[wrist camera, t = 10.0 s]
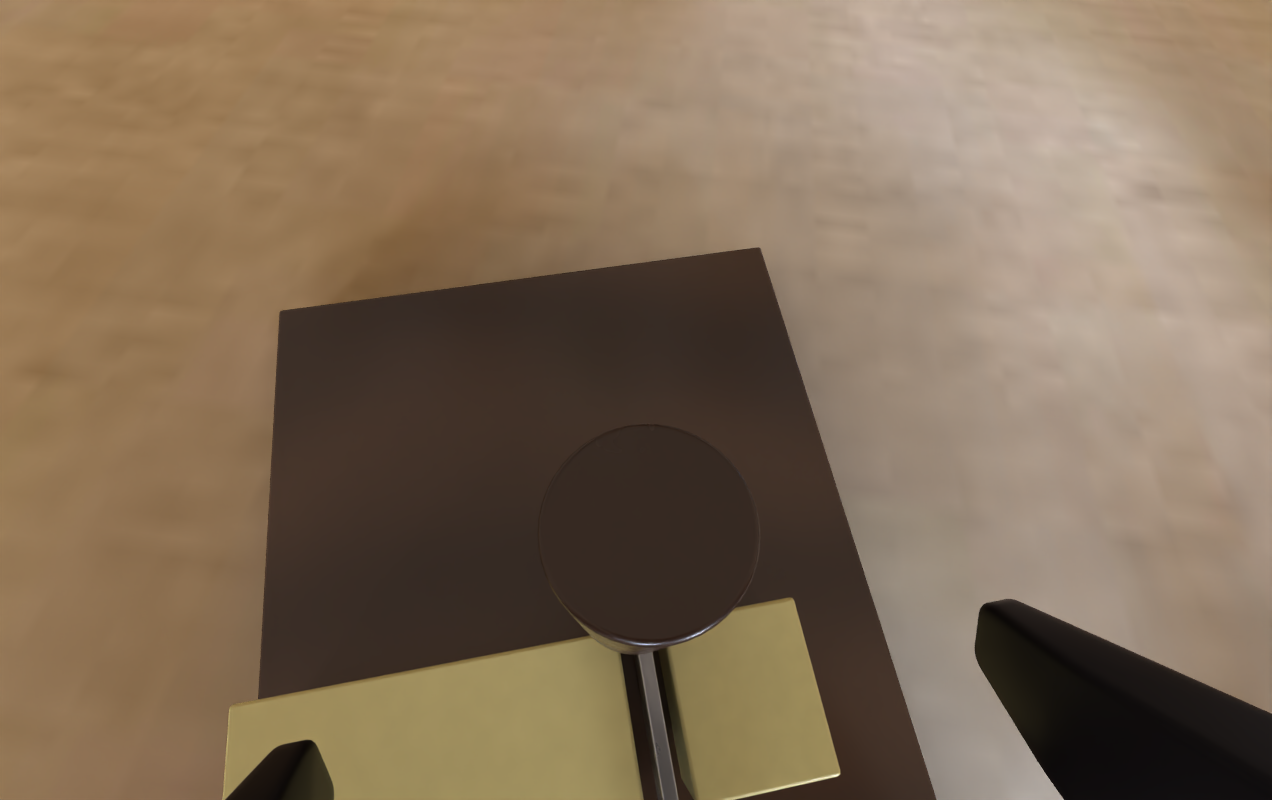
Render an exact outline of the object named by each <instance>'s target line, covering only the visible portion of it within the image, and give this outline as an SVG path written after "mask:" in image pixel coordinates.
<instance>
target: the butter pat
mask: <svg viewBox="0 0 1272 800" xmlns="http://www.w3.org/2000/svg"><path fill="white" fill-rule="evenodd" d="M658 652H659V657H660V663H661V668H662V674H663V679H664V685H665V690H666V696H667V701H668V707H669V712H670V718H671V723H672V729H673V734H674V740H675V745H676V751H677V756H678V762H679V767H680V773H681V778H682V780H683V782H684V783H685V785H686V787H687V789H688V790H689V792H690V794H691V796H692V797H693V799H694V800H736V799H740V798H745V797H749V796H754V795H758V794H762V793H767V792H771V791H776V790H780V789H785V788H789V787H793V786H798V785H802V784H807V783H811V782H816V781H820V780H824V779H829V778H833V777H838V776H839V775H840V767H839V764H838V760H837V756H836V753H835V749H834V745H833V742H832V738H831V734H830V731H829V727H828V723H827V720H826V716H825V712H824V708H823V705H822V701H821V697H820V694H819V690H818V686H817V683H816V679H815V675H814V672H813V668H812V664H811V661H810V657H809V653H808V649H807V646H806V642H805V638H804V635H803V631H802V627H801V624H800V620H799V616H798V613H797V609H796V605H795V602H794V600H793V598H790V597H789V598H783V599H778V600H773V601H768V602H763V603H758V604H752V605H747V606H742V607H737V608H735V609H734V610H733V611H732V612H731V613H730V614H729V615H728V616H727V617H726V618H725V619H724V620H723V621H722V622H720V623H719V624H718V625H717V626H716V627H714V628H713V629H711V630H709V631H708V632H706V633H704V634H703V635H701V636H699V637H697V638H694V639H692V640H690V641H687V642H684V643H681V644H677V645H674V646H670V647H667V648H664V649H660V650H658Z"/></svg>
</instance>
